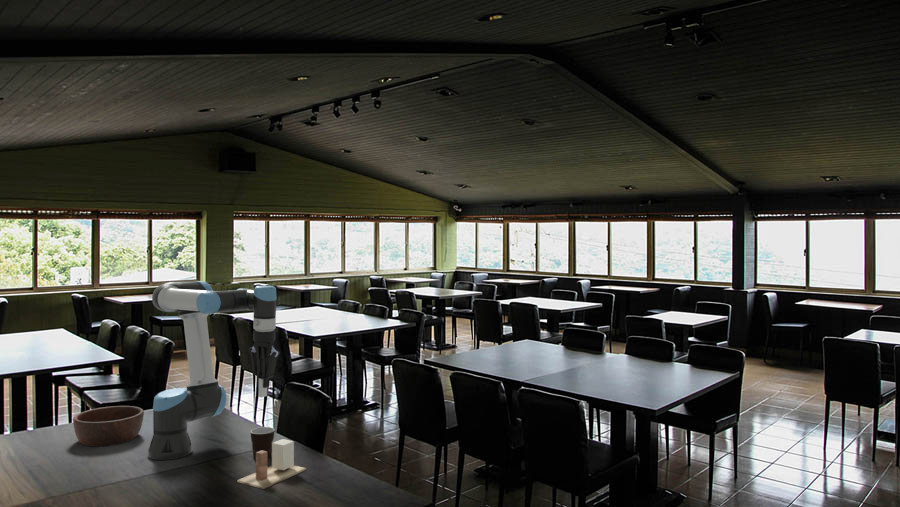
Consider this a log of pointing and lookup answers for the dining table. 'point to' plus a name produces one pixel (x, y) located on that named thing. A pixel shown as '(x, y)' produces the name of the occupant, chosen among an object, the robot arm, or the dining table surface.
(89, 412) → the wooden bowl
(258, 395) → the robot arm
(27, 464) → the dining table surface
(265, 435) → the coffee mug
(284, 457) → the upright off-white block
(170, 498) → the dining table surface
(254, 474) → the stand
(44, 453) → the dining table surface
